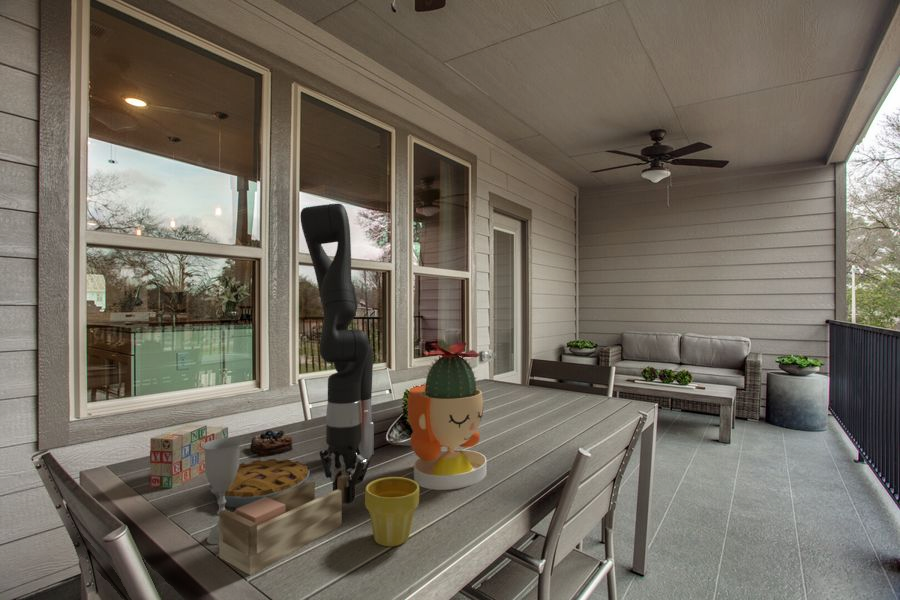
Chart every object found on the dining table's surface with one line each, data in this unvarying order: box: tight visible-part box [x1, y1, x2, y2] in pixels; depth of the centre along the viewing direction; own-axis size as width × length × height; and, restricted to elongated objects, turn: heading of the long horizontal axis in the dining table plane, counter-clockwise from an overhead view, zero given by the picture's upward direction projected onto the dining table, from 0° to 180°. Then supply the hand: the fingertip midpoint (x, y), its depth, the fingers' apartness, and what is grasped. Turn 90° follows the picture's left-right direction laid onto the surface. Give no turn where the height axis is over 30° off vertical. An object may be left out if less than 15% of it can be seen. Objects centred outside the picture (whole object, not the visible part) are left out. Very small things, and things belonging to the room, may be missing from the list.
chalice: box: [202, 437, 243, 545], centre depth 86 cm, size 7×7×18 cm
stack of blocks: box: [149, 423, 229, 489], centre depth 119 cm, size 21×6×12 cm, turn 171°
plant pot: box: [364, 476, 420, 547], centre depth 86 cm, size 10×10×10 cm
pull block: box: [235, 475, 351, 526], centre depth 88 cm, size 24×6×6 cm, turn 146°
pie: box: [208, 458, 311, 509], centre depth 107 cm, size 22×22×5 cm
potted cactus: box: [407, 341, 488, 491], centre depth 119 cm, size 22×22×35 cm
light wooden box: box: [218, 479, 343, 576], centre depth 84 cm, size 20×9×8 cm, turn 146°
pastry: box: [249, 429, 293, 458], centre depth 137 cm, size 11×12×6 cm
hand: (343, 499), depth 97 cm, fingers closed on pull block, 3 cm apart
